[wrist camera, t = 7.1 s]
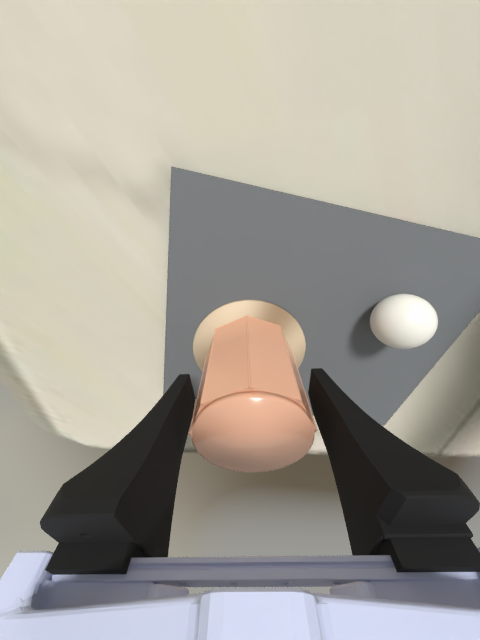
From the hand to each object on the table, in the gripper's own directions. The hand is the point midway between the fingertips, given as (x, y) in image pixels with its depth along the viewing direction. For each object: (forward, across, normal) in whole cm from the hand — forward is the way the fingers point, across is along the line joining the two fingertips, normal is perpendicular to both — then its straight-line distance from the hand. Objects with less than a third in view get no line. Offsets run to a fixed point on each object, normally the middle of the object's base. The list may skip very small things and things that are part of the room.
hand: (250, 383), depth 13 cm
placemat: (+4, -4, -1) cm, 6 cm away
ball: (+2, -9, -3) cm, 10 cm away
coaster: (+3, 0, 0) cm, 3 cm away
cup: (+3, 0, 0) cm, 3 cm away
